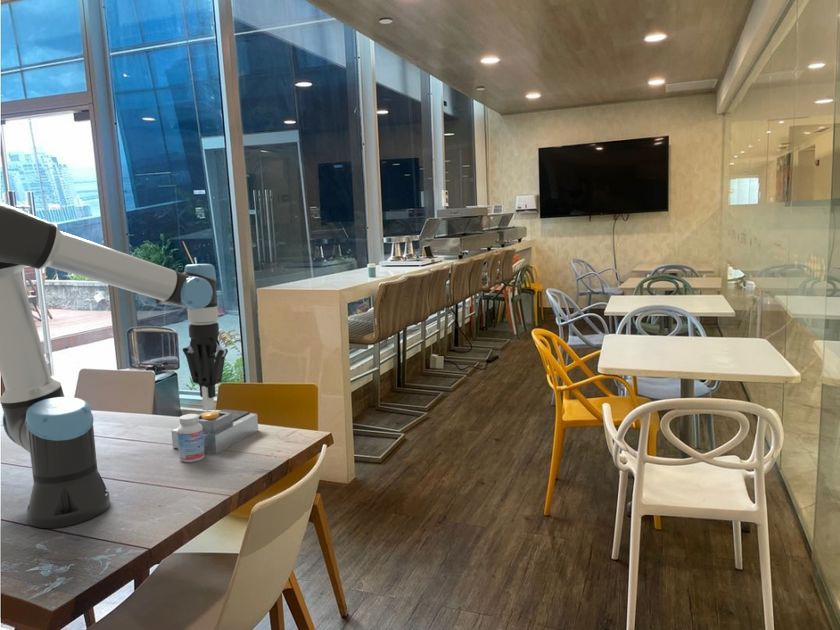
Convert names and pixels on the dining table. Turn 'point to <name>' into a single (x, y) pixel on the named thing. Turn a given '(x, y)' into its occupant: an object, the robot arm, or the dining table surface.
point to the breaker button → (210, 416)
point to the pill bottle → (190, 438)
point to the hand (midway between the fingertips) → (208, 408)
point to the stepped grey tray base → (224, 429)
